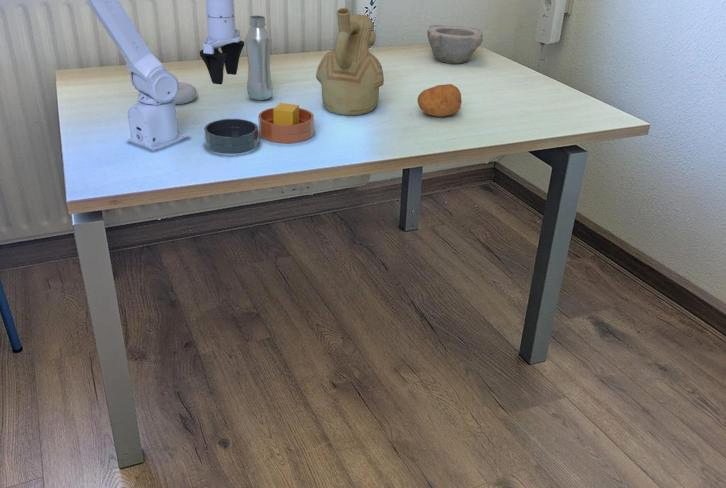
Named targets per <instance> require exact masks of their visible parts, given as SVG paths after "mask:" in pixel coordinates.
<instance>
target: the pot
mask: <svg viewBox="0 0 726 488" xmlns="http://www.w3.org/2000/svg"><path fill="white" fill-rule="evenodd" d="M203 132H204V144H205V147H206V148H207V149H208V150H210V151H211V152H214V153H217V154H224V155H236V154H242V153H247V152H251V151H253V150H254V149H256V148H257V147H258V146H259V126H258V124H256V123H255V122H253V121H250V120H247V119H243V118H222V119H216V120H214V121H211V122H208V123H207V124H206V125H204V128H203Z"/></svg>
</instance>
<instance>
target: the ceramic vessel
mask: <svg viewBox="0 0 726 488" xmlns="http://www.w3.org/2000/svg"><path fill="white" fill-rule="evenodd" d="M336 18H337V26H338V31H337V36H336V39H335V48H334V49H331V50H330V51H329V52H327V53H326V54H325V55H324V56H322V58H321V60H320V62H319V64H318V65H317V70H316V74H315V78H316V80H317V81H318V83H320V85H321V100H322V104H323V106H324V108H325V109H326V110H327V111H328V112H330V113H334V114H337V115H342V116H362V115H366V114H368V113H370V112H372V111H373V110H374V109H375V108H376V106H377V105H378V103H379V102H378V101H379V97H380V87H382V86H383V85H384V83H385V79H384V71H383V67H382V64H381V62H380V60H379V58H377V57H376V56H375V55H374V54H373V53H372V52H370V50H369V48H371V47H370V46H374V45H375V44H376V39H377V32H376V31H375V30H374V31H373V29H374V28H375V25H374V23H373V21H372V19H371V18H370V17H368V16H367V15H365V14H361V13H356V14H353V15H351V10H350V9H349V8H345V7H341V8H339V9H337V10H336Z"/></svg>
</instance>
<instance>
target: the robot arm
mask: <svg viewBox="0 0 726 488" xmlns="http://www.w3.org/2000/svg"><path fill="white" fill-rule="evenodd" d="M85 1H86V3H87V4H88V6H89V7H90V9H91V11H92V12H93V13H94V15H95V16H96V18H97V19H98V21H99V22H100V24H101V25H102V27H103V29H104V30H105V32H106V33H107V35H108V36H109V37H110V39H111V40H112V42H113V43H114V45H115V46H116V48H117V49H118V51H119V52H120V54H121V56H122V58H124V60H125V62H126V64H125V67H126V69H127V71H128V74H129V76H130V83H131V85H132V86H133V87H134V89H135V90H137V99H138V100H137V102H136V103H135V104H134V105H132V106H130V107H129V108H128V111H127V120H128V126H129V134H130V138H129V139H128V142H129V143H135V144H137V145H140V146H143V147H146V148H148V149H151V150H157V149H159V148H162V147H165V146H168V145H170V144H173V143H175V142H177V141H181V140H183V139H185V138H188V135H187V134H184V133H181V132H179V129H178V117H177V109H176V104H175V99H174V98H175V97H176V95H177V93H178V90H179V83H178V82H179V80H178V78H177V77H176V75H175V74H173V73H172V72H170V71H169V70H167V69H166V67H165V66H164V64H163V63H162V62H161V61H160V60H159V59H158V58H157V57H156V55H154V54H153V53H152V51H151V50H150V48H149V46H148V44H147V43H146V42H145V40H144V39H143V37H142V35H141V33H140V32H139V30H138V29H137V27H136V26H135V24H134V22H133V21H132V19H131V18H130V16H129V15H128V13H127V12H126V10H125V8H124V6H123V5H122V4H121V2H120V0H85ZM234 3H235V2H234V0H205V9H206V10H205V11H206V21H207V36H206V39H205V42H203V44H202V49H201V50H199V57H200V58H201V59H202V61H203V63H204V64H205V66H206V69H207V71H208V74H209V78H210V80H211V83H212V84H213V85H221V86H222V84H224V83H223V82H224V69H225V72H226V74H227V75H233V76H236V75H237V74H238V73H237V72H238V67H239V62H240V57H241V54H242V51H243V49H244V47H245V40H241V39H242V38H241V31H240V29H236V24H235V23H236V22H235V6H234V5H235V4H234ZM219 49H220V50H219Z"/></svg>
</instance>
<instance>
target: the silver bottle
mask: <svg viewBox="0 0 726 488" xmlns="http://www.w3.org/2000/svg"><path fill="white" fill-rule="evenodd" d="M266 25H267V22H266V17H265V16H264V15H251V16H249V26H250V28H248V29H249V30H248V31H247V33H246V35H245V37H244V45H245V49H246V55H247V65H248V68H247V81H246V92H247V95H248V97H249V98H250V99H252V100H256V101H263V100H269V99H270V98H271V97H272V95H273V91H274V85H273V80H272V74H271V63H270V62H271V53H272V44H273V43H272V41H273V39H272V36H271V34H270V33H269V31H268V30H267V28H266Z"/></svg>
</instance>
